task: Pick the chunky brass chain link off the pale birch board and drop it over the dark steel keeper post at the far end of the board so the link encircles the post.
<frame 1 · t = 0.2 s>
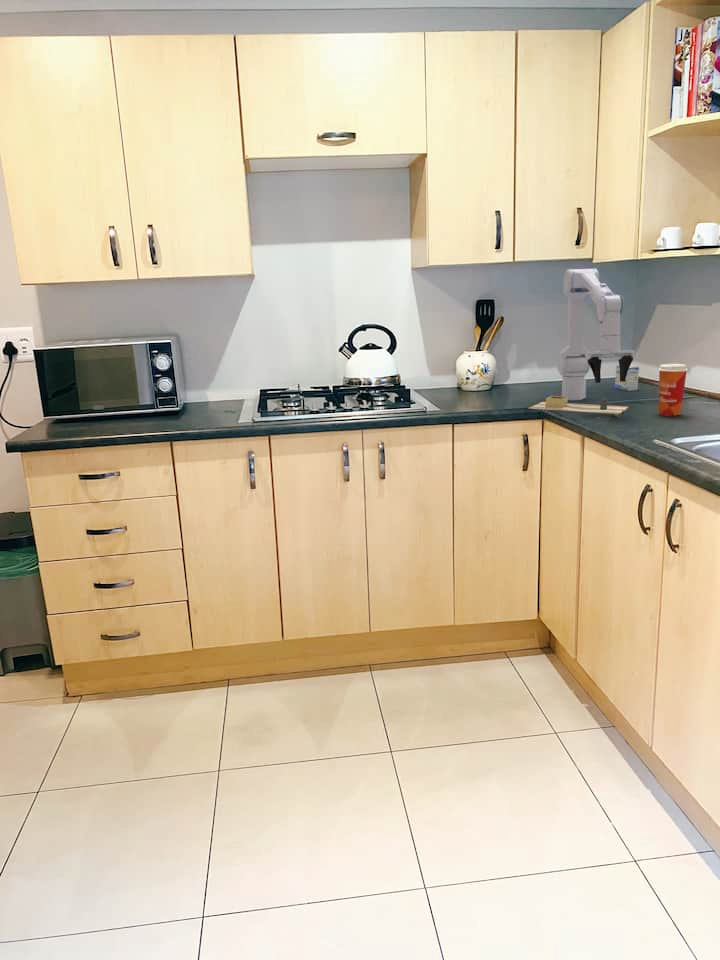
hand: (610, 382, 216), 10 cm above the worktop, tool pointing down, fingers open, 7 cm apart
coffee cup: (669, 415, 219), on the worktop
keeper board: (577, 410, 231), on the worktop
medicine box: (625, 389, 271), on the worktop
brass link: (556, 406, 234), point 1 cm above the worktop, touching keeper board
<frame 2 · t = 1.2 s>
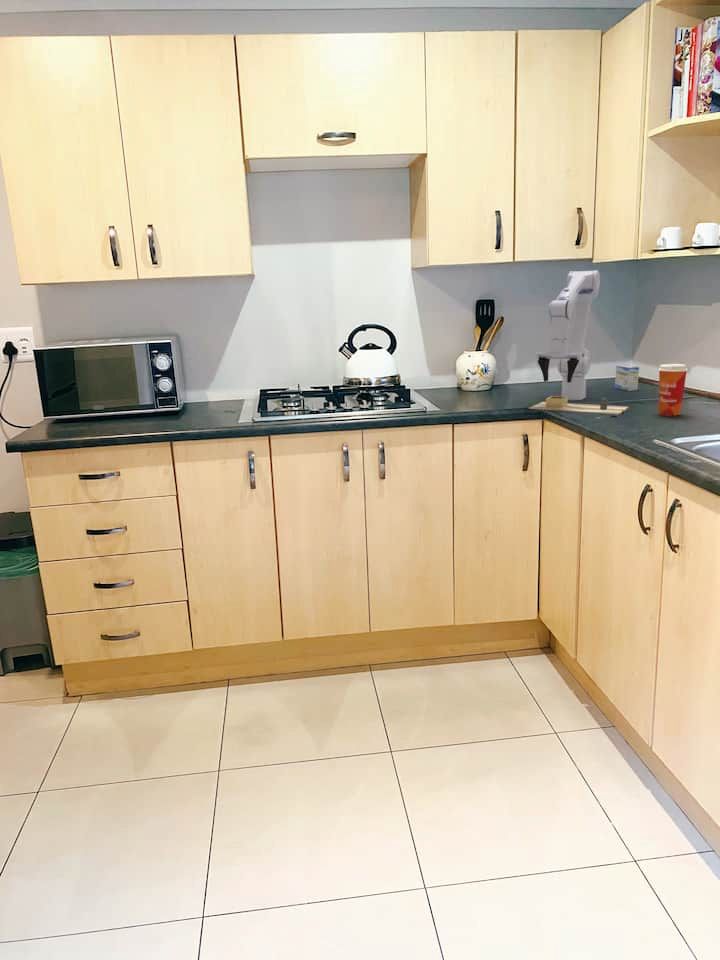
hand: (557, 381, 232), 9 cm above the worktop, tool pointing down, fingers open, 7 cm apart
nothing on the worktop moved.
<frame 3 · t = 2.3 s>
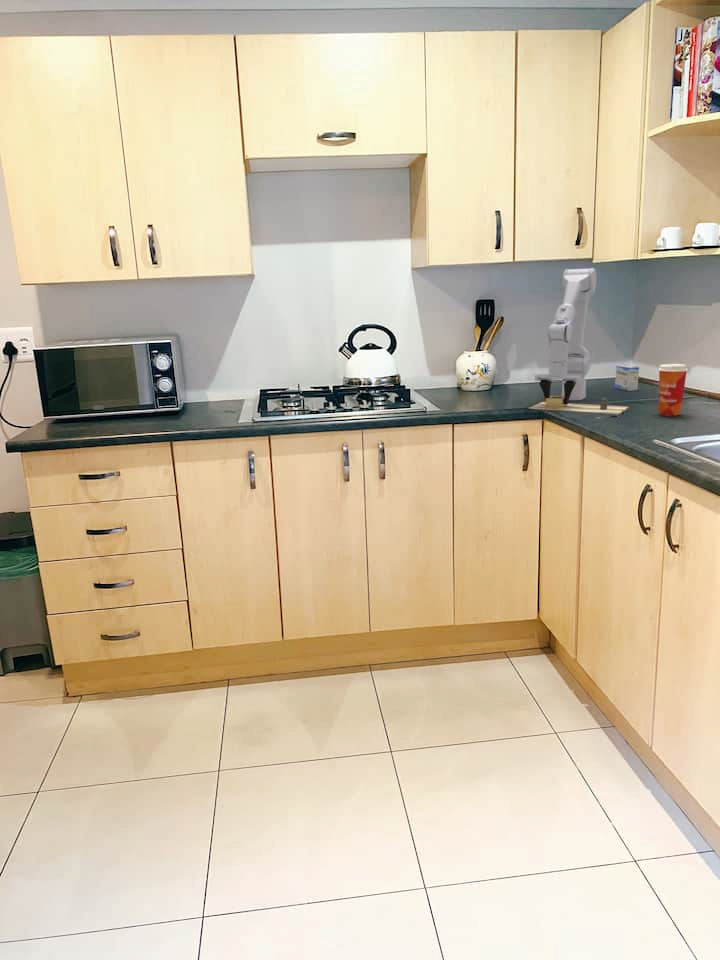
hand: (556, 403, 234), 2 cm above the worktop, tool pointing down, fingers closed on brass link, 5 cm apart
brass link: (556, 406, 234), point 1 cm above the worktop, touching gripper, keeper board
everything else where it was.
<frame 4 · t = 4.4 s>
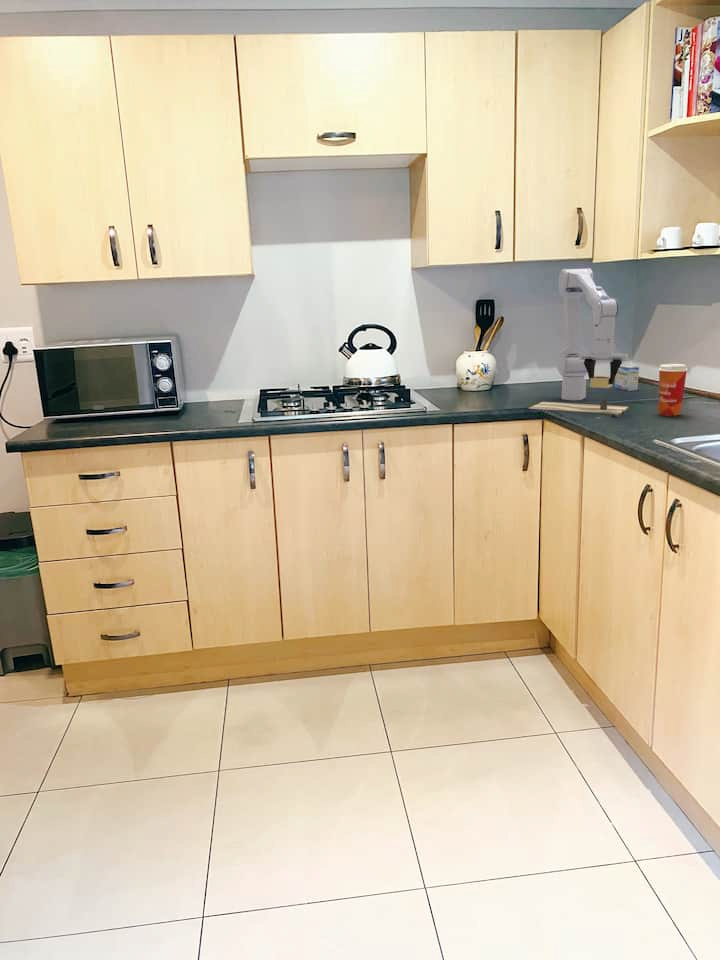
hand: (601, 383, 225), 9 cm above the worktop, tool pointing down, fingers closed on brass link, 5 cm apart
brass link: (601, 386, 225), point 8 cm above the worktop, touching gripper
everything else where it was.
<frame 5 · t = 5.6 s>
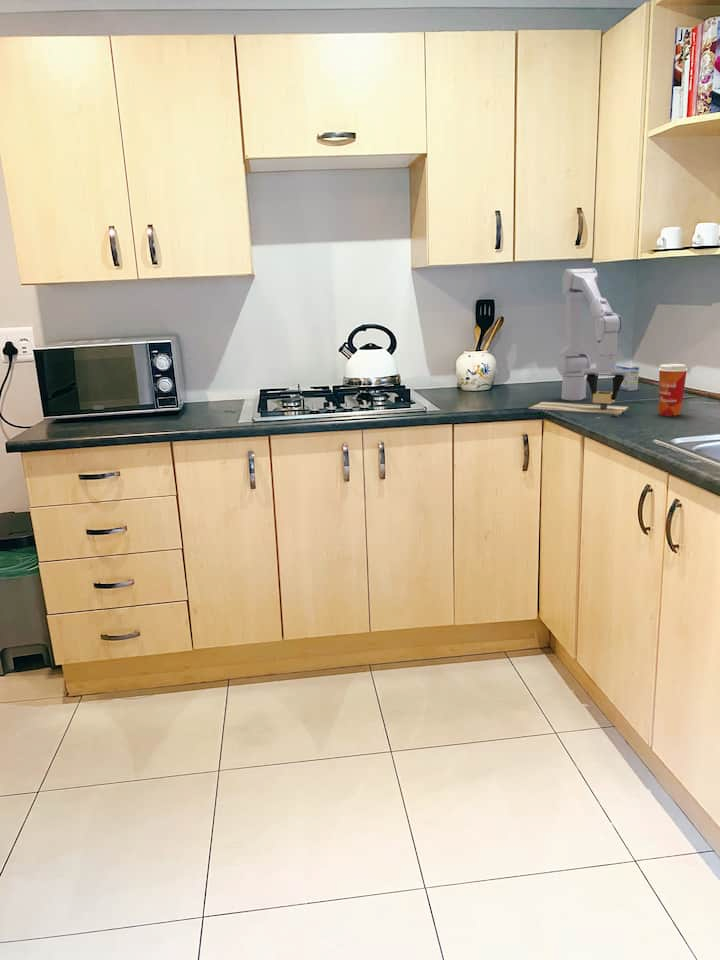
hand: (604, 398, 226), 4 cm above the worktop, tool pointing down, fingers closed on brass link, 5 cm apart
brass link: (603, 401, 226), point 3 cm above the worktop, touching gripper
everything else where it was.
when the fingers open (3 cm above the worktop, at t = 6.5 s): brass link drops 1 cm, resting on keeper board.
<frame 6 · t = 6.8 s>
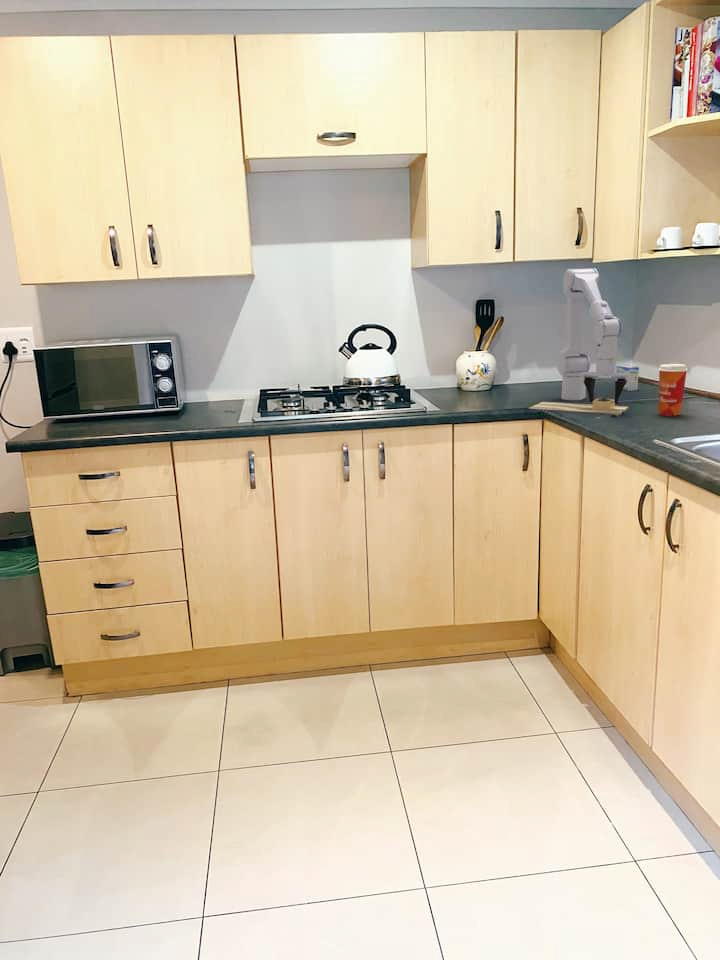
hand: (603, 402, 226), 3 cm above the worktop, tool pointing down, fingers open, 7 cm apart
brass link: (603, 409, 226), point 1 cm above the worktop, touching keeper board
everything else where it was.
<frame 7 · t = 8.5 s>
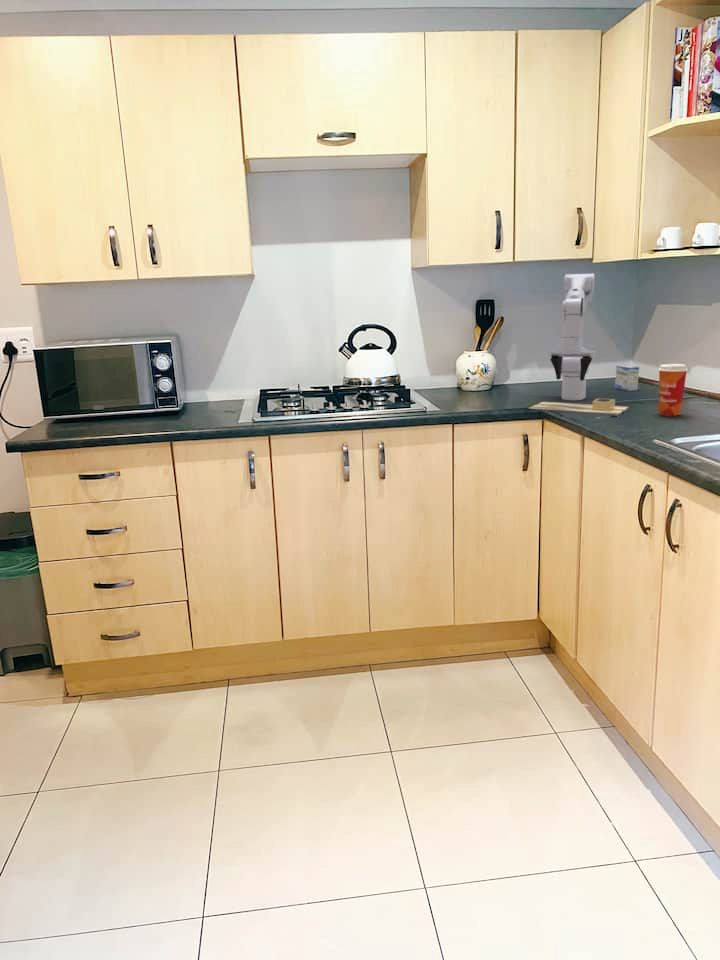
hand: (570, 379, 233), 9 cm above the worktop, tool pointing down, fingers open, 7 cm apart
nothing on the worktop moved.
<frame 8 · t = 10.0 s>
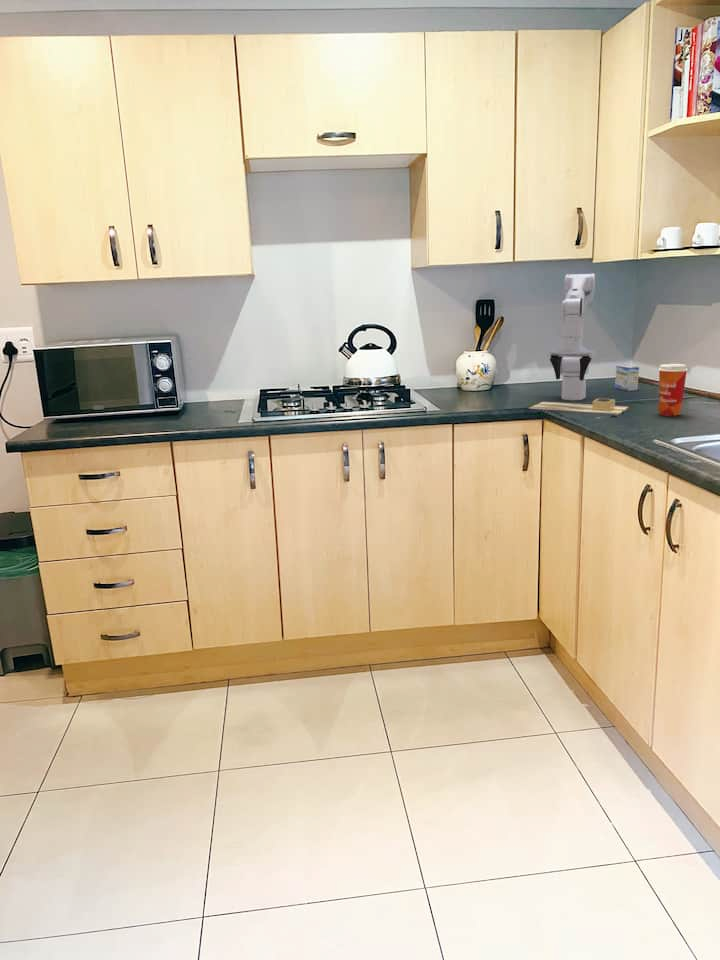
hand: (569, 379, 233), 9 cm above the worktop, tool pointing down, fingers open, 7 cm apart
nothing on the worktop moved.
at the end: brass link 0.1 cm from the target spot on the keeper board, point 1.0 cm above the keeper board's base; brass link tilted 0°; the gripper is holding nothing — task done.
